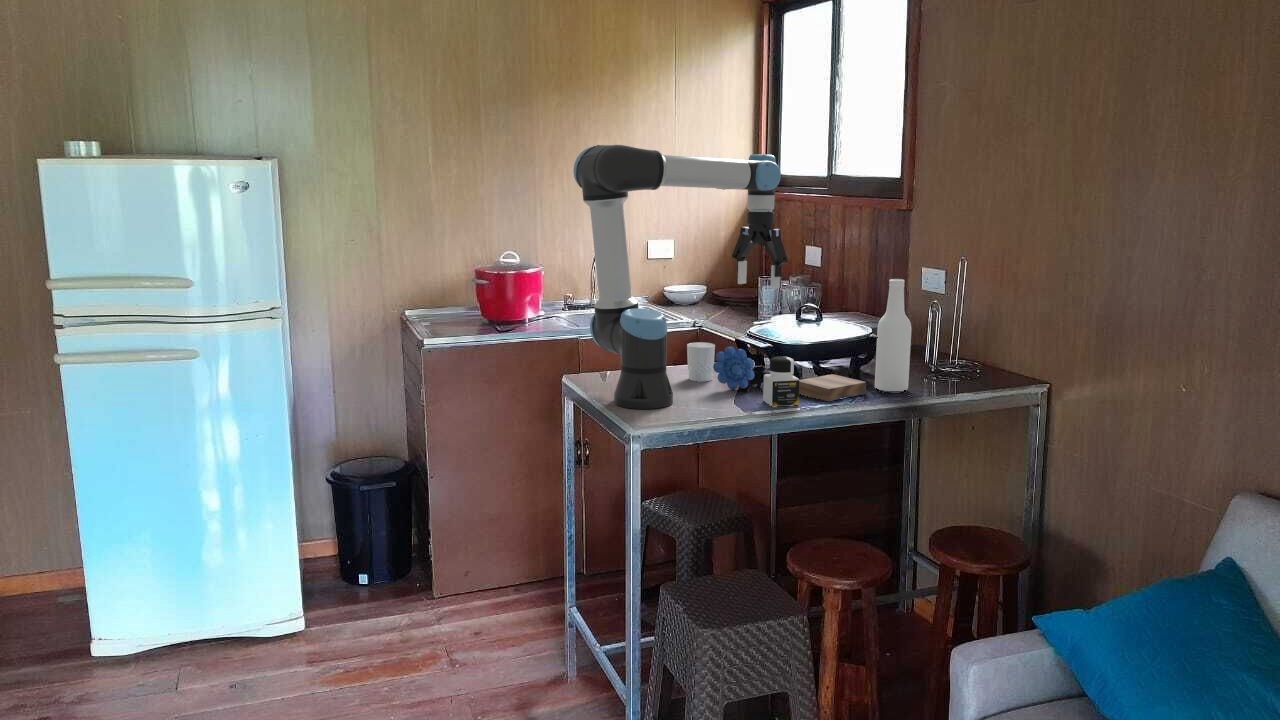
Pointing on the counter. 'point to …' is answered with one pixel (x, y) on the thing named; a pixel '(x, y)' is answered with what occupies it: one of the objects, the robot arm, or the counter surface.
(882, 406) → the counter surface
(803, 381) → the base block
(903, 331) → the alcohol
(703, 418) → the counter surface
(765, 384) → the medicine bottle
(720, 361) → the blue flower
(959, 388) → the counter surface
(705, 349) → the white cup
